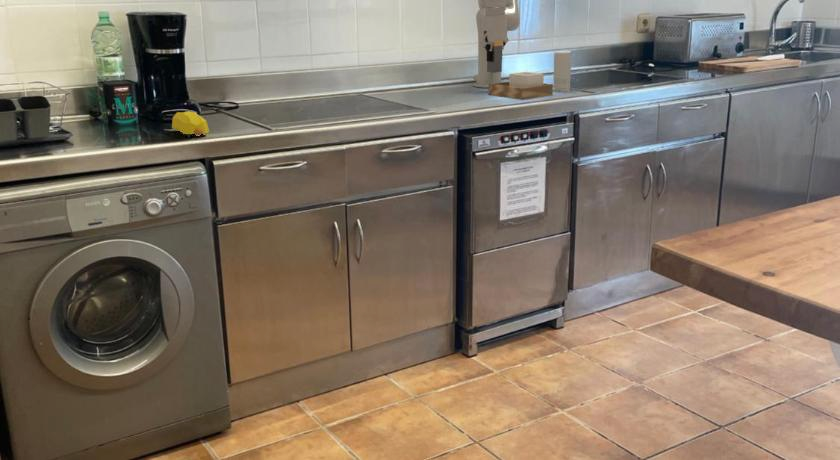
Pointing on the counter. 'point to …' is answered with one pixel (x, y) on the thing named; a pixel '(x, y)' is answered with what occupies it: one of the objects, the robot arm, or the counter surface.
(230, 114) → the counter surface
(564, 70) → the skincare box
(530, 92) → the crate
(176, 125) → the yellow lump
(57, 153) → the counter surface
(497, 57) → the square peg
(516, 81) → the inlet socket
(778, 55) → the counter surface
